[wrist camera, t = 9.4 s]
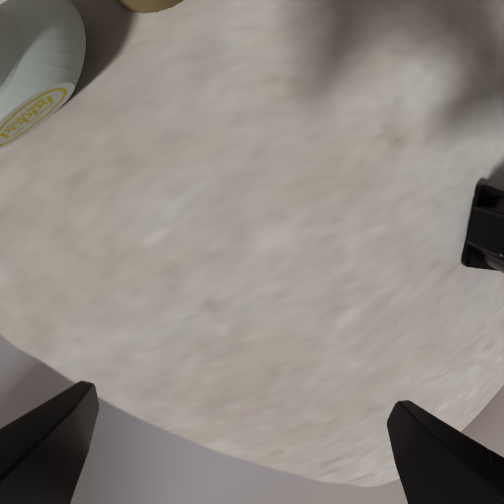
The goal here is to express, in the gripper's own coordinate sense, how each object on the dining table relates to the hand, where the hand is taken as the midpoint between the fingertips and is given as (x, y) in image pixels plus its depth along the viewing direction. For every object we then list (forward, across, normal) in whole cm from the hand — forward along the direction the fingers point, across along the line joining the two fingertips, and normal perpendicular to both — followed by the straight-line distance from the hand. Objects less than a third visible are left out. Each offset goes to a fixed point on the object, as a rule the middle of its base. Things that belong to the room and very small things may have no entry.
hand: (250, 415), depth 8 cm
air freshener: (+13, +16, -12) cm, 24 cm away
